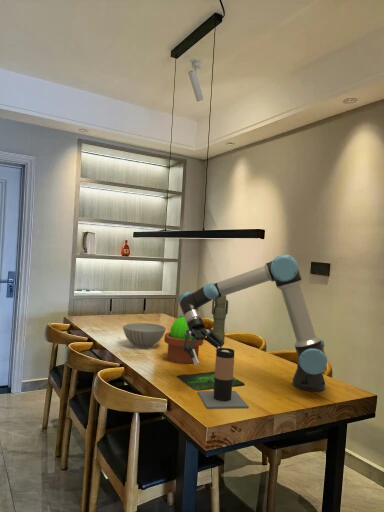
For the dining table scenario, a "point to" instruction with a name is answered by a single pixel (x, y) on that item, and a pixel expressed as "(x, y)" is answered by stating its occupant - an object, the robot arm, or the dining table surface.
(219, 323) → the olive grey tall piece
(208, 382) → the mouse mat
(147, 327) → the decorative bowl
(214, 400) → the rubber mat
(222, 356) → the travel mug
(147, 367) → the dining table surface
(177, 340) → the potted cactus
